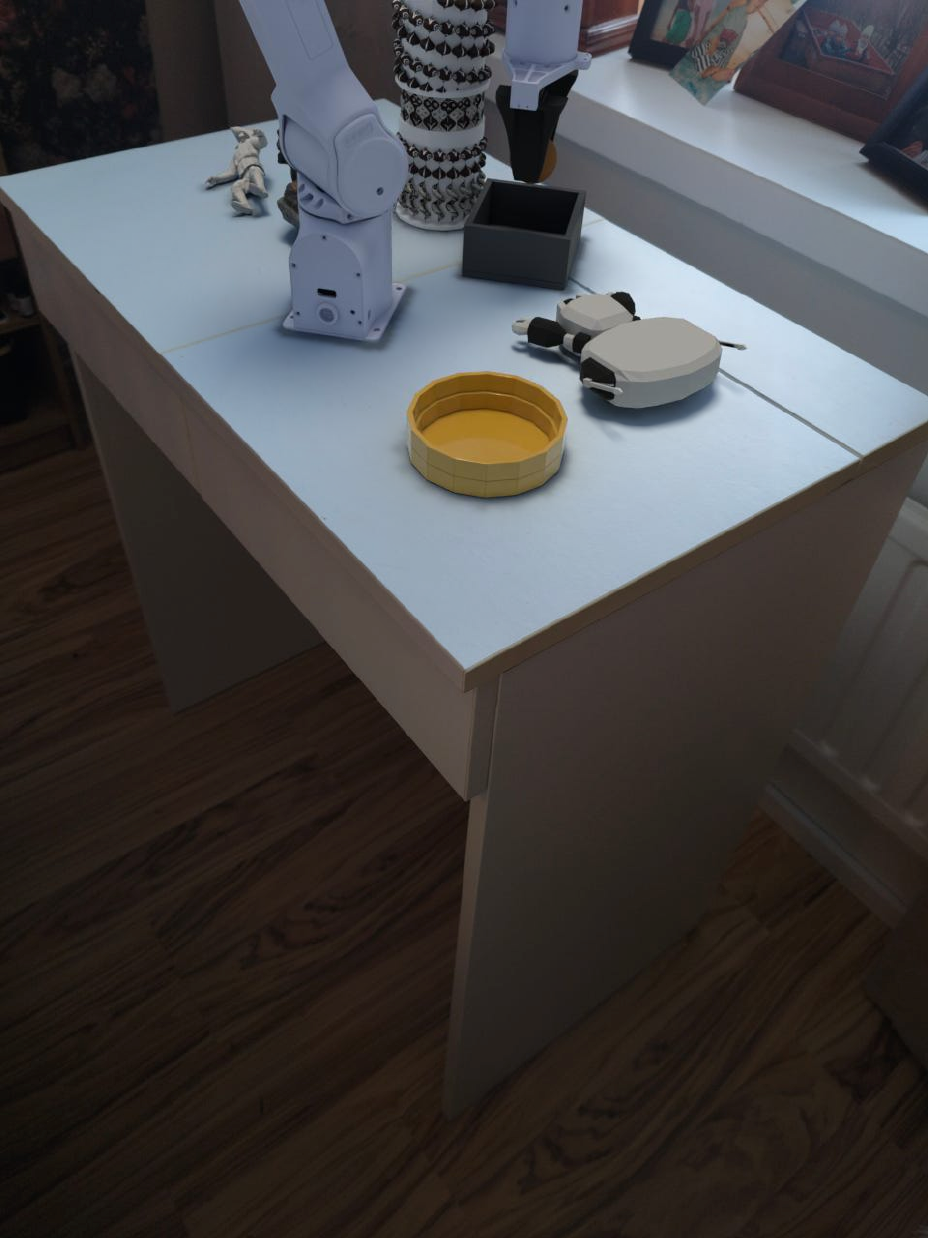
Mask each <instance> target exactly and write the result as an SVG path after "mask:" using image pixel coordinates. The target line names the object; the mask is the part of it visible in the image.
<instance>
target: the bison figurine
mask: <svg viewBox="0 0 928 1238" xmlns="http://www.w3.org/2000/svg"><path fill="white" fill-rule="evenodd" d="M276 134H277V137H278V138H277V141H276V143H275V144H276V148H277V150H278V154H277V163H278V164H279V165H287V166H288V167H289V174H290V180H291V181H290V182H288V183H287V184H286V186H285V189H284V193H283V196H281V197H280V198H279V199H277V200H276V205H277V208H278V209H279V211H280V212H281V214H282V219H283V220H284V221H285V222H287V223H288V224H290V225H292V226H293V227H295V229H297V230H298V231H299V228H300V222H299V210H298V197H297V187H298V181H297V172H298V171H296V170H295V169H293V168H292V167H291V166H290V165H289V164H288V162H287V161H286V159H285V157H284V155H283V153H282V150H281V147H280V141H279V128H278V129H277V130H276Z"/></svg>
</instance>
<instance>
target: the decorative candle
mask: <svg viewBox="0 0 928 1238" xmlns="http://www.w3.org/2000/svg"><path fill="white" fill-rule="evenodd" d="M500 4H501V3H500V0H391V8H392V9H393V10H394V11H393V13H392V15H391V19H392V20H391V22H390V25H391V27H392V29H393V30H395V34H396V36H397V37H396V38H395V39H394V40H393V54H394V55H395V56H396V57H395V59H394V65H393V67H392V71H393V72H394V74H395V76H394V79H395V80H394V81H395V83H396V84H397V86H398V87H399V88H401V90H400V99H399V100H400V106H401V109H400V111H399V114H398V130H397V132H396V134H395V135H396V136H397V137H398V138H399V139H400V140H401V142H402V143H403V145H404V147H405V149H406V152H407V156H408V164H409V169H408V177H407V181H406V184H405V187H404V189H403V191H402V193H401V195H400V196H399V198H398V199H397V200H396V201H397V205H396V207H395V212H396V214H397V216H398V217H399V219H400V220H402V221H403V222H405V223H406V224H408V225H410V226H412V227H416V228H420V229H424V230H429V231H441V232H445V231H447V232H448V231H456V230H462V229H464V224H465V222H466V220H467V218H468V216H469V214H470V212H471V210H472V208H473V206H474V204H475V202H476V200H477V198H478V196H479V194H480V192H481V190H482V188H483V186H484V184H485V182H486V179H487V178H486V176H487V175H486V174H485V172H483V170H482V169H483V168H485V167H486V164H487V161H486V160H487V155H486V154H485V153H484V151H486V150H487V148H488V137H487V136H486V135H485V125H486V116H485V114H484V112H485V111H484V109H485V93H486V92H485V91H486V90H488V89H489V88H490V83H491V77H492V76H493V71H492V69H491V67H490V66H488V65H487V64H486V63H485V62H486V57H487V58H488V57H489V56H490V55H493V54H495V50H496V46H495V44H494V42H492V41H491V40H490V39H489V38H490V36H491V35H493V34H495V33H496V32H497V25H496V23H495V22H494V21H493V20H491V18H489V17H488V12H489V11H493V10H494V9H496V8H498V7H499V6H500Z"/></svg>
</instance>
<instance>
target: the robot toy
mask: <svg viewBox="0 0 928 1238" xmlns="http://www.w3.org/2000/svg"><path fill="white" fill-rule="evenodd" d="M636 309H637V308H636V302H635V301H634V299H633V297H632V296H631V294H630V293H629V292H625V291H623V290H621V291H619V290H618V291H615V292H613V291H607V292H606V294H602V293H601V294H599V293H591V294H587V293H586V294H585V293H584V294H583V293H582V294H575V298H573V297H568V298H566V299H564V300H563V299H560V300H558V301H557V303H556V311H555V320H552V319H549V318H546V317H545V318H544V317H541V316H535V317H533V318H531V319H530V318H524V317H523V318H519V319H517V320H515V322H513V323H511V331H512V333H514V334H516V335H517V336H526V337H527V343H528V344H531V345H535V346H538V347H542V348H545V349H548V348H549V349H550V348H554V347H558V346H562V347H563V348H564V349H565V350H566V351H568V352H570V353H571V354H574V355H575V356H576V357H578V358H579V357H580V367H579V378H578V379H579V382H581V384H582V386H583V387H584V388H586V389H588V390H589V391H591V392H592V393H594V394H595V395H596V396H597V397H600V398H601V399H602V400H604V401H607V402H609V403H610V404H612V405H613V406H615V407H619V408H622V409H624V408H629V409H644V408H650V407H657V406H661V405H666V404H669V403H674V402H678V401H681V400H684V399H685V398H687V397H689V396H691V395H693V394H695V393H697V392H698V391H700V390H702V389H704V388H705V387H708V385H710V384H711V383H713V382H714V381H715V380H716V379H717V376H718V374H719V370H720V365H721V360H722V355H723V347H725V348H731V349H732V348H733V349H736V350H738V351H746V350H747V349H748V347H747V345H746V344H745V343H735V342H729V341H724V340H719V339H718V338H717V336H716V335H713V334H712V333H711V332H708V331H707V330H705V329H703V328H702V327H700V326H698V325H696V324H694V323H693V322H690V321H689V320H687V319H685V318H679V317H671V316H670V317H669V316H659V317H658V316H657V317H650V318H649V317H648V318H644V319H642V318H641V317H640V316H638V315H636V312H637V310H636Z"/></svg>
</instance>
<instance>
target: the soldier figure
mask: <svg viewBox="0 0 928 1238" xmlns="http://www.w3.org/2000/svg"><path fill="white" fill-rule="evenodd" d="M229 130H230V131H231V133H232V135H233V137H234V138H235V140H236V141H237V143H238V144H237V145H236V146H235V147H234V149H235V150H234V152H233V154H232V157H231V161H230V164H229V168H228V170H227V171H226V172H224V173H220V174H216V175H210V176H208V177H207V178H206V179H205V181H204V185H206V184H207V183H209V184H210V187H211V188H212V187H213V186H214V184H215V183H216V184H222V183H226V182H229V181H233V180H234V179H236V177H237V176H238V177H239V179H237V180H236V181H235V182H234V183H232V184H231V186H230V192H231V196H232V198H233V201H232V202H231V203H230V206H231V207H232V208H233V210H235V211H236V212H238V213H240V212H241V213H244V214H246V215H250V214H252V213H253V208H252V206H251V205H250V203H249V202H248V199H247V197H246V195H248V194H250V193H251V194H253V195H255V196H258V197H260V198H262V199H268V198H269V193H268V191H267V189H266V188H265V184H264V183H265V177H266V172H265V168H264V166H263V165H262V163H261V161H260V154H261V150H263V149H264V148H266V147H267V146H268V139H267V136H266V134H265V132H264V131H263V130H262V129H261V128H259V127H251V129H249V128H244V127H241V126H231V127H230V128H229Z"/></svg>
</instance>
